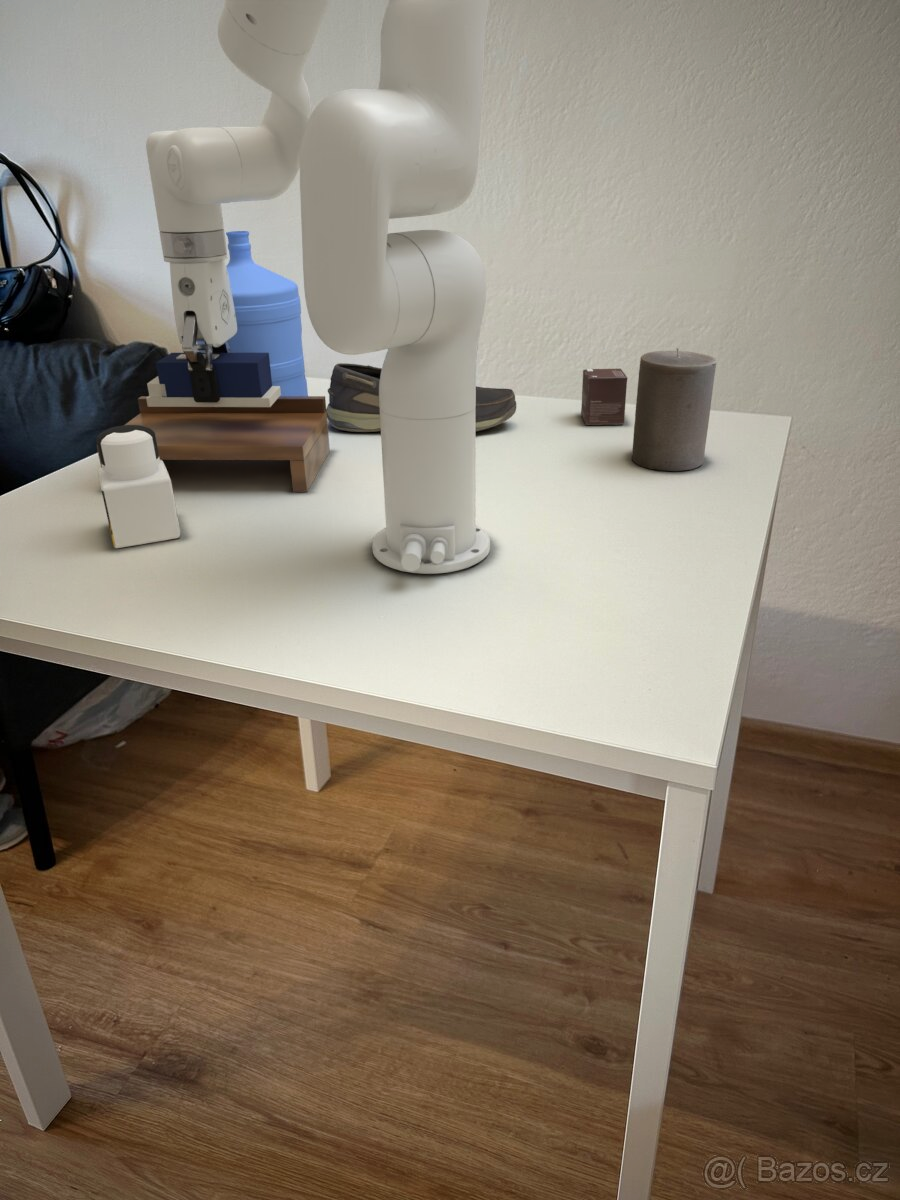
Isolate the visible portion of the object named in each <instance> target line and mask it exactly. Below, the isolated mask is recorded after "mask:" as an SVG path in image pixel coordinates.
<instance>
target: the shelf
mask: <svg viewBox="0 0 900 1200" xmlns="http://www.w3.org/2000/svg"><path fill="white" fill-rule="evenodd" d="M148 396H149V395H148ZM148 396H146V395H145V396H144V395H143V396H140V397H138V398H137V403H138V409H139V414H137V415H136V416H135V417H133V418H132V419H130V420H129V421H127V422H126V423H125V424H124V425H141V426H144V427H148V428H150V429H152V430H153V431H154V432H155V436H156V442H157V447H158V453H159V458H160V460H162V461H163V460H165V461H166V460H168V461H185V460H186V461H204V460H205V461H289V464H290V475H291V484H292V485H291V486H292V492H293V493H308V491H309V490H310V487H311V486H312V484H313V482H314V481H315V479H316V477H317V475H318V474H319V472H320V469H321V468H322V466H323V465H324V463H325V461H326V459H327V458H328V456H329V454H330V452H331V450H330V437H329V427H328V419H327V413H326V409H327V401H326V396H324V395H308V396H279V398H278V399H277V400H276V401H275V402H274V403H273V405H272V406H271V407H148V405H147V399H146V397H148ZM96 451H97V455H98V459H99V463H100V468H102V464H101V460H100V455H99V450H98V446H97V445H96Z"/></svg>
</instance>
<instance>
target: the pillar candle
mask: <svg viewBox="0 0 900 1200" xmlns="http://www.w3.org/2000/svg"><path fill="white" fill-rule="evenodd" d="M639 359H640V360H639V368H638V380H637V389H636V390H637V391H636V403H635V412H634V413H635V414H634V426H633V439H632V451H631V452H632V455H630V458H631V461H633V462H634V463H635V464H637V466H640V467H642V468H645V469H651V470H657V471H665V472H667V471H669V472H680V471H682V472H683V471H689V470H694V469H697V468H700V467H701V466H702V465H703V463H704V459H705V453H706V445H707V437H708V429H709V423H710V422H709V421H710V415H711V407H712V399H713V398H712V397H713V392H714V383H715V376H716V375H715V374H716V367H717V363H718V360H717V359H716V357H714V356H711V355H708V354H704V353H701V352H694V351H689V350H679V347H676V350H657V351H656V350H655V351H650V352H646V353H643V354H642V355H641V356H640V358H639Z"/></svg>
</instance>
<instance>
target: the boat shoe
mask: <svg viewBox="0 0 900 1200" xmlns="http://www.w3.org/2000/svg"><path fill="white" fill-rule="evenodd" d="M381 370H382V367H376V366H371V365H370V364H369V365H363V364H357V363H345V362H341V363H340V362H339V363H337V364H335V365H334V366H333V369H332V372H331V376H330V378H329V379H330V383H329V387H328V388H327V393H328V397H329V398H328V401H329V403H328V404H327V405H326V413H327V422H328V423H329V424H330V425H331V426H332V427H333V428H334V429H337V430H339V431H345V432H352V433H371V432H372V433H373V432H381V425H380V405H379V382H380V376H381ZM516 411H517V401H516V394H515V392H514V390H513V389H512V388H496V387H483V386H482V387H481V386H477V385H476V406H475V433H476V432H480V431H484V430H488V429H490V428H493V427H496V426H498V425H501V424H503V423H504V422H506V421H508V420H510V419H511V418H512V417H513V416H514V415H515V414H516Z"/></svg>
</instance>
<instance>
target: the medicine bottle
mask: <svg viewBox="0 0 900 1200" xmlns="http://www.w3.org/2000/svg"><path fill="white" fill-rule="evenodd" d="M95 440H96V447H97V446H98V450H99V455H100V459H99V461H100V460H101V464H102V468H101V467H99V468H98V469H97V475H98V480H99V485H100V490H101V496H102V499H103V504H104V508H105V509H104V510H105V513H106V517H107V522H108V526H109V530H110V536H111V540H112V545H113V547H114V548H115V549H122V548H126V547H132V546H133V547H135V546H140V545H145V544H150V543H157V542H163V541H169V540H174V539H179V538H180V537H181V528H180V523H179V518H178V517H179V516H178V511H177V508H176V507H177V506H176V502H175V501H176V500H175V495H174V489H173V484H172V483H173V482H172V479H171V477H170V474H169V471H168V470H167V467H166V464H165V463H164V461H163V460H160V458H159V453H158V447H157V442H156V436H155V432H154V431H153V430H152V429H150V428H148V427H144V426H141V425H125V424H123V425H116V426H113V427H110V428H108V429H105V430H104V431H102V432H100V433H99V434H98V435H97V437H96V439H95ZM98 450H97V451H98ZM99 455H98V456H99ZM101 464H100V465H101Z"/></svg>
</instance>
